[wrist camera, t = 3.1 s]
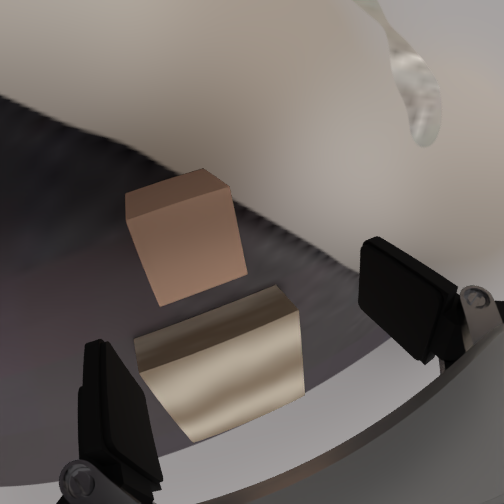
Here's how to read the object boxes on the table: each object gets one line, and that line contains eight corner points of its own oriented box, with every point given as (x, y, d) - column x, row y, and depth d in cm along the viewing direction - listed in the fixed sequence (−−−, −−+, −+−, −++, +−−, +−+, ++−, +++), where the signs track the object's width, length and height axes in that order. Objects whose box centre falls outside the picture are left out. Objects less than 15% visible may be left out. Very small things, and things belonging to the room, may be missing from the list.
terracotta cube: (125, 193, 17) (125, 220, 12) (203, 168, 18) (229, 186, 14) (149, 263, 19) (160, 306, 15) (219, 238, 20) (247, 274, 16)
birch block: (133, 335, 21) (139, 373, 18) (273, 282, 24) (298, 310, 21) (182, 412, 27) (193, 442, 24) (286, 369, 30) (304, 395, 27)
